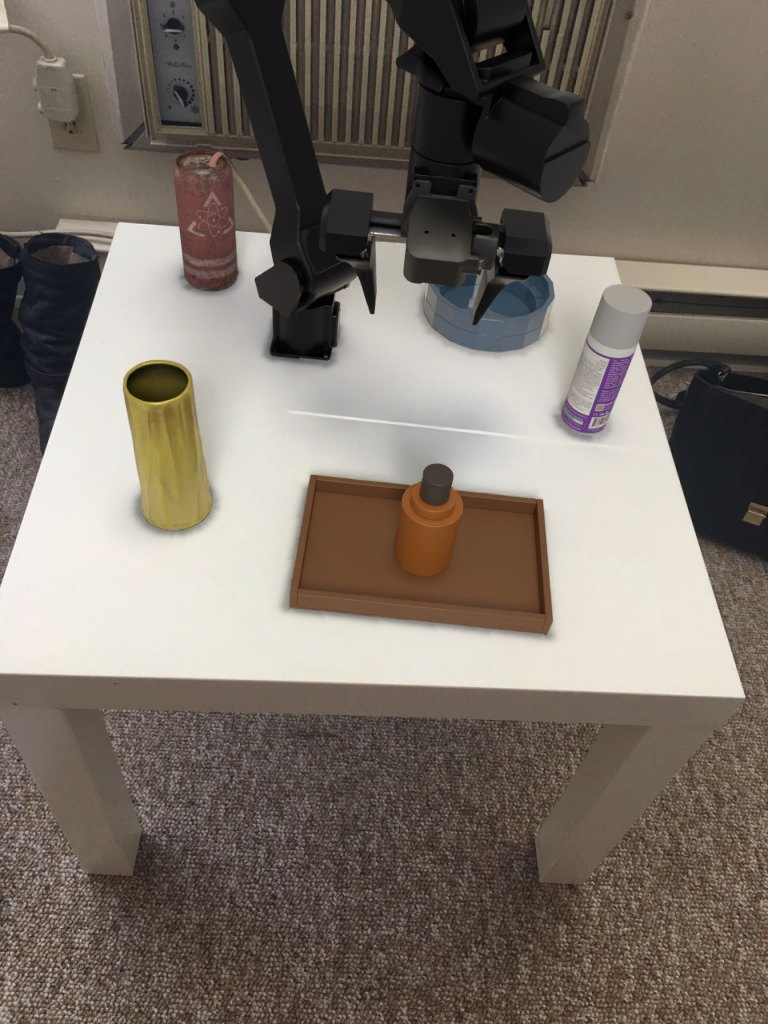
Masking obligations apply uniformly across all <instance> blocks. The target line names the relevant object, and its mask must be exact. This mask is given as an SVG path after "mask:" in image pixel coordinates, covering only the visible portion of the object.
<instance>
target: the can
mask: <svg viewBox="0 0 768 1024" xmlns="http://www.w3.org/2000/svg"><path fill="white" fill-rule="evenodd" d="M174 161H175V163H174V165H173V166H172V174H173V183H174V192H175V202H176V210H177V219H178V220H177V221H178V230H179V239H180V247H181V256H182V257H181V258H182V266H183V274H184V278H185V280H186V281H187V282H188V283H189V285H190V286H192V287H193V288H195V289H196V290H199V291H203V292H204V291H205V292H219V291H223V290H226V289H228V288H230V287H231V286H232V285H233V284H235V281H236V280H237V279H238V275H239V272H238V271H239V270H238V268H239V267H238V251H237V249H238V248H237V233H236V232H237V231H236V230H237V229H236V214H235V213H236V211H235V195H234V194H235V193H234V177H233V175H234V174H233V168H232V166H231V164H230V163H229V159H228V158H227V157H226V156H225V154H224V153H223V152H221V151H214V150H210V149H193V150H188V151H185V152H182V153H181V154H179V155H178V156H177V157H176V159H175V160H174Z"/></svg>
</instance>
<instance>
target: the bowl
mask: <svg viewBox="0 0 768 1024" xmlns="http://www.w3.org/2000/svg"><path fill="white" fill-rule="evenodd" d="M483 271H484V270H482V271H481V275H477V274H476V275H474V274H466V277H465V281H464V283H463V284H462V285H461V286H459V287H455V288H451V287H446V286H444V285H438V284H429V283H426V287H425V295H424V300H423V301H424V303H423V313H424V315H425V317H426V319H427V321H428V322H429V324H430V326H431V328H433V329H434V330H435V331H436V332H438V333H439V334H440V335H442V336H443V337H445V338H446V339H447V340H449V341H450V342H452V343H456V344H457V345H461V346H464V347H466V348H469V349H472V350H477V351H487V352H495V353H501V352H508V351H515V350H520V349H524V348H526V347H527V346H529V345H531V344H533V343H535V342H536V341H538V340H539V339H540V338H541V336H542V335H543V333H544V332H545V330H546V328H547V326H548V323H549V318H550V315H551V312H552V308H553V305H554V301H555V298H556V295H555V286H554V281H553V280H552V279H551V277H550V276H549V275H548V273H547V274H545V275H543V276H541V277H537V276H529V278H528V279H527V280H526V281H523V282H522V281H515V282H512V283H509V284H508V285H506V286H505V287H504V289H503V290H502V291H501V292H500V293H499V294H498V295H497V297H496V298H495V299H494V301H493V302H492V304H491V305H490V307H489V308H488V309H487V311H486V312H485V314H484V315H483V317H482V318H481V320H480V321H479V323H478V324H477V325H476V326H474V325H472V314H473V308H474V302H475V299H476V295H477V292H478V288H479V285H480V281H481V278H482V275H483Z"/></svg>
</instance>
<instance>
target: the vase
mask: <svg viewBox="0 0 768 1024" xmlns="http://www.w3.org/2000/svg"><path fill="white" fill-rule="evenodd" d="M193 381H194V380H193V376H192V374H191V372H190V370H189V369H188V368H187V367H186V366H184V365H183V364H181V363H179V362H176V361H173V360H168V359H150V360H145V361H142V362H140V363H137V364H136V365H134V366H133V367H131V368H129V370H127V372H126V373H125V375H124V377H123V379H122V393H123V399H124V405H125V411H126V415H127V420H128V425H129V430H130V434H131V439H132V440H131V441H132V447H133V455H134V460H135V466H136V473H137V477H138V481H139V487H140V494H141V504H140V505H141V512H142V515H143V517H144V518H145V519H146V520H147V522H148V523H150V524H151V525H153V526H154V527H157V528H159V529H163V530H167V531H181V530H186V529H188V528H192V527H194V526H196V525H198V524H199V523H201V522H202V521H203V520H204V519H205V518H207V516H208V514H209V513H210V512H211V509H212V504H213V497H212V494H211V493H210V487H209V486H210V484H209V476H208V470H207V465H206V458H205V454H204V448H203V444H202V443H203V442H202V437H201V433H200V426H199V425H200V424H199V419H198V414H197V413H198V412H197V405H196V398H195V397H196V396H195V389H194V382H193Z"/></svg>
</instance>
